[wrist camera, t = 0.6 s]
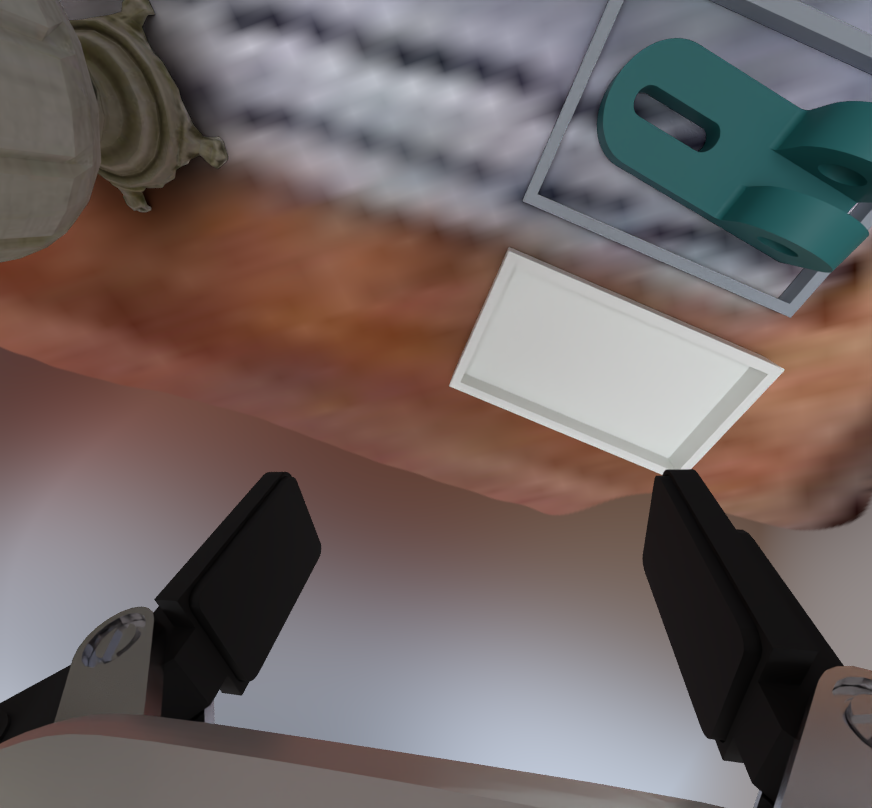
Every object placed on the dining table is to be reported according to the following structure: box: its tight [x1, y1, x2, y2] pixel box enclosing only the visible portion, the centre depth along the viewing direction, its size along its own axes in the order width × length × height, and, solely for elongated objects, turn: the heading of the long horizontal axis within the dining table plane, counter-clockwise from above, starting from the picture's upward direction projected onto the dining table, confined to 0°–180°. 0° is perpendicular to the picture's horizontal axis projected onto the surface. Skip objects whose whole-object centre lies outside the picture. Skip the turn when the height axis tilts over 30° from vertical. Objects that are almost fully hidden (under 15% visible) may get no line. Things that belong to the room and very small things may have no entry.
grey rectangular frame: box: [522, 0, 872, 318], centre depth 26 cm, size 15×23×2 cm, turn 69°
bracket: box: [597, 38, 872, 273], centre depth 24 cm, size 18×7×8 cm, turn 64°
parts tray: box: [449, 247, 785, 475], centre depth 34 cm, size 13×24×3 cm, turn 69°
